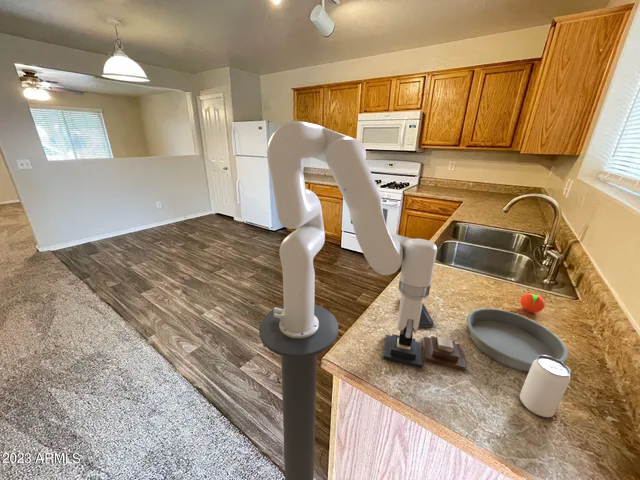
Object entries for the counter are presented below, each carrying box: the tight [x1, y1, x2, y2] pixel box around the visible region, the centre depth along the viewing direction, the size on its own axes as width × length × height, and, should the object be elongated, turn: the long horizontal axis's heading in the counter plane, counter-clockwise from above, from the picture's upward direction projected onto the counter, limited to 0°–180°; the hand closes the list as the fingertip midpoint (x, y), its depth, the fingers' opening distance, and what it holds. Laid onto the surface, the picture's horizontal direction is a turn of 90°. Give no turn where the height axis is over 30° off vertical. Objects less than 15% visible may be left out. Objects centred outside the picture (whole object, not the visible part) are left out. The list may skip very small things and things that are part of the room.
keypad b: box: [422, 335, 466, 371], centre depth 75 cm, size 10×9×3 cm
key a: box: [396, 338, 410, 351], centre depth 75 cm, size 4×4×2 cm
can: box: [519, 355, 572, 418], centre depth 59 cm, size 6×6×12 cm
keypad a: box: [382, 333, 423, 369], centre depth 75 cm, size 10×9×3 cm
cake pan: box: [466, 307, 569, 373], centre depth 79 cm, size 25×25×4 cm
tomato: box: [519, 292, 546, 314], centre depth 95 cm, size 8×7×7 cm
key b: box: [437, 335, 453, 352], centre depth 74 cm, size 4×4×2 cm
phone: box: [418, 303, 434, 328], centre depth 93 cm, size 8×1×15 cm
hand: (404, 343), depth 74 cm, fingers closed
